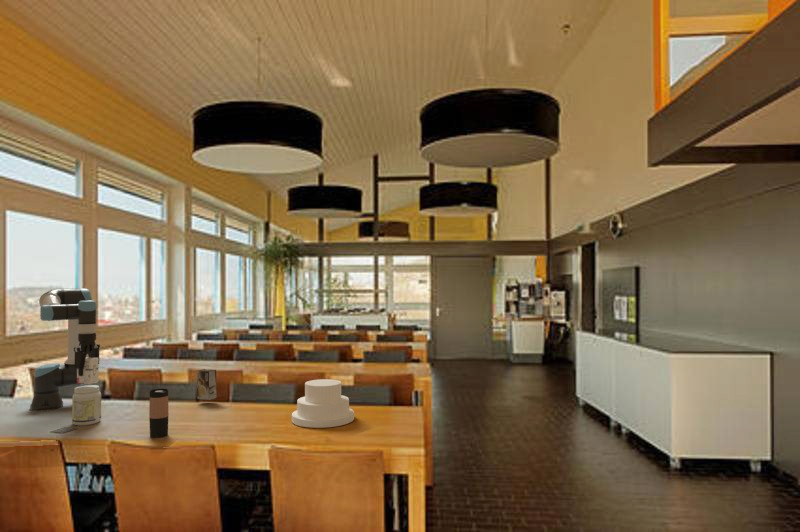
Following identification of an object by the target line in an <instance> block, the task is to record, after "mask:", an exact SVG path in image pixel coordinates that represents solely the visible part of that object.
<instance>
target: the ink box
mask: <svg viewBox="0 0 800 532" xmlns="http://www.w3.org/2000/svg"><path fill="white" fill-rule="evenodd" d="M84 369H85V383H82V384H84V385H94V384H96V383H99V364H98V358H94V357H88V356H86V359H85V365H84ZM77 383H79V375H78V369H77Z"/></svg>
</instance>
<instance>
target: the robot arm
mask: <svg viewBox="0 0 800 532" xmlns="http://www.w3.org/2000/svg"><path fill="white" fill-rule="evenodd" d="M38 302H39V303H38V304H39V306H40V308H39V309H40V311H39V313H40V314H39V315H40V320H41V321H45V322H46V321H48V322H51V321H52V322H53V321H67V359H66V360H65V361H64V364H63V365H61V364H60V363H59V362H58V363H57V362H56V363H54V362H53V363H48V364H45V365H40V366H37V367H36V368H35V369H34V371H33V372H34V374H33V378H34V379H33V381H34V382H33V383H34V384H33V385H34V386H33V391H34V392H33V398H32V400H31V403H30V406H29V410H30V411H33V410H37V411H38V412H39V411H41V410H43V411H49V410H50V411H51V410H56V409H60V408H63V407H64V401H63V398H62V395H61V393H60V392H61V391H60V388H65V387H66V388H67V387H75V386H76V387H80V386H85V384H82V383H85V369H84V365H85V359H86V357H94V358H98V365H100V348H101V344H99V343H96V339H97V333H96V332H97V307H98V306H97V301H96V300H92V294H91V291H90V290H89V288H82V287H81V288H79V287H77V288H56V289H51V290H48V291H47V292H45V293H43V294H42V295H41V296H40V297H39V299H38ZM87 355H88V356H87ZM77 369H78V375H79V383H77Z"/></svg>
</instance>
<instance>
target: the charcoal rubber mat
mask: <svg viewBox="0 0 800 532" xmlns="http://www.w3.org/2000/svg"><path fill="white" fill-rule="evenodd" d="M75 430H78V427H73V426H63V427H60V428H57V429H53V430H51V431H49V433H50V432H54V433H53V434H61V433H62V434H65V433H69V432H73V431H75ZM62 434H61V435H62Z"/></svg>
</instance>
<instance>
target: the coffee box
mask: <svg viewBox="0 0 800 532" xmlns="http://www.w3.org/2000/svg"><path fill="white" fill-rule="evenodd" d="M196 386H197V387H196V393H197V394H196V396H197V400H207V401H211V400H214V399H217V369H207V368H206V369H205V368H202V369H200V370H197V371H196Z"/></svg>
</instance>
